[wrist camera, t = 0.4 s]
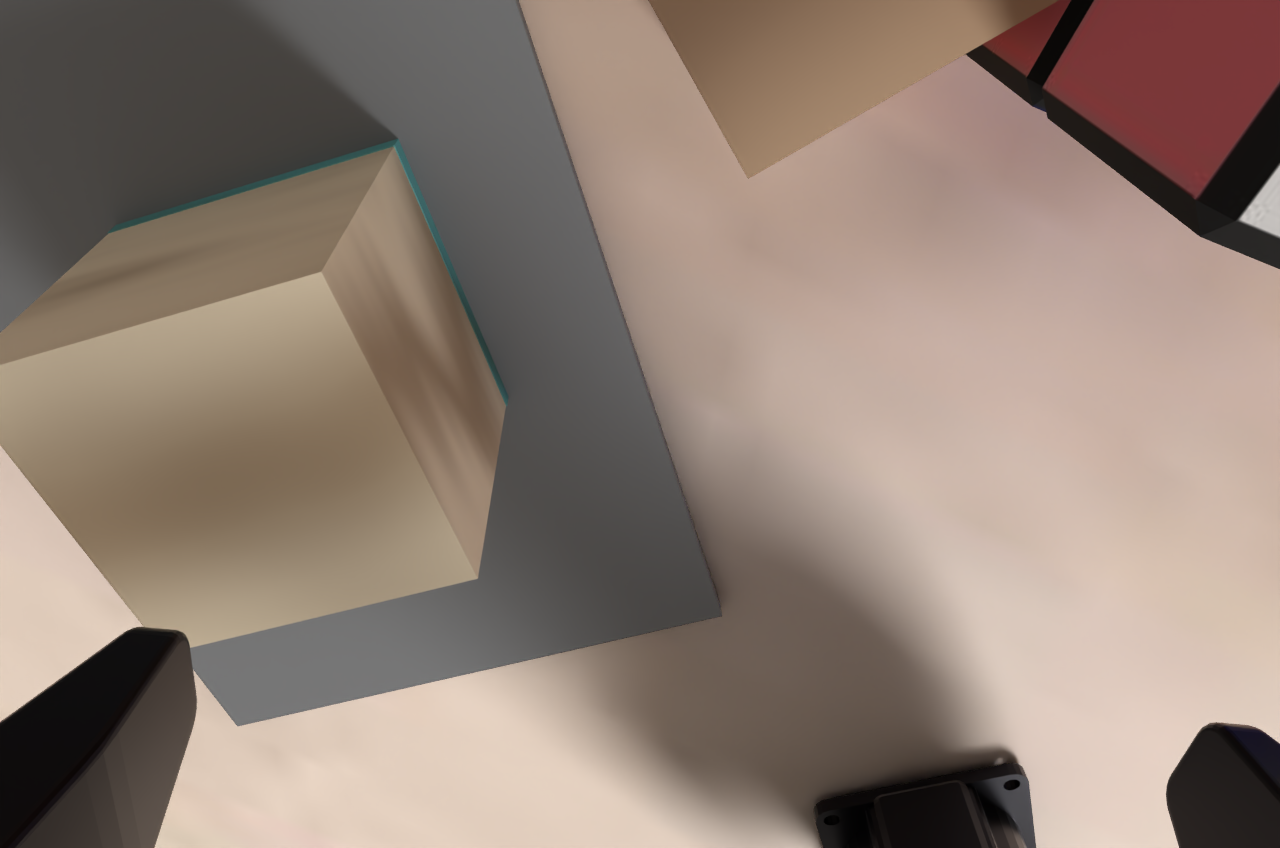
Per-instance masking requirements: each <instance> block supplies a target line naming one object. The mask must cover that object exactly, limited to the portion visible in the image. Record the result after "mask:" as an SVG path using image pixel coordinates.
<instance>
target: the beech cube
mask: <svg viewBox="0 0 1280 848" xmlns="http://www.w3.org/2000/svg"><path fill="white" fill-rule="evenodd" d="M508 398H509V396H508V394H507V392H506V389H505V387H504V385H503V382H502V380H501V378H500V375H499V373H498V370H497V368H496V366H495V363H494V361H493V359H492V356H491V354H490V352H489V349H488V347H487V345H486V342H485V340H484V338H483V335H482V333H481V331H480V328H479V326H478V324H477V321H476V319H475V317H474V314H473V312H472V310H471V307H470V305H469V303H468V300H467V298H466V296H465V293H464V291H463V289H462V286H461V284H460V282H459V279H458V277H457V275H456V272H455V270H454V268H453V265H452V263H451V261H450V258H449V256H448V254H447V251H446V249H445V247H444V244H443V242H442V240H441V237H440V235H439V233H438V230H437V228H436V226H435V223H434V221H433V219H432V216H431V214H430V212H429V209H428V207H427V205H426V202H425V200H424V198H423V195H422V193H421V191H420V188H419V186H418V184H417V181H416V179H415V177H414V174H413V172H412V170H411V167H410V165H409V162H408V160H407V158H406V155H405V153H404V151H403V148H402V146H401V144H400V141H399V139H395V140H392V141H389V142H385V143H382V144H379V145H376V146H372V147H369V148H366V149H362V150H359V151H356V152H353V153H349V154H346V155H343V156H340V157H336V158H333V159H330V160H327V161H323V162H320V163H317V164H313V165H310V166H307V167H304V168H300V169H297V170H294V171H291V172H287V173H284V174H281V175H278V176H274V177H271V178H268V179H264V180H261V181H258V182H255V183H251V184H248V185H245V186H242V187H238V188H235V189H232V190H229V191H225V192H222V193H219V194H215V195H212V196H209V197H206V198H202V199H199V200H196V201H193V202H189V203H186V204H183V205H179V206H176V207H173V208H170V209H166V210H163V211H160V212H157V213H153V214H150V215H147V216H144V217H140V218H137V219H134V220H130V221H127V222H124V223H121V224H117V225H115V226H114V227H113V228H112V229H111V230H110V231H109V232H108V235H107V236H105V237H104V238H103V239H102V240H101V241H100V242H99V243H98V244H97V245H96V246H94V247H93V248H92V249H91V250H90V251H89V252H88V253H87V254H86V255H85V256H84V257H82V258H81V259H80V260H79V261H78V262H77V263H76V264H75V265H74V266H73V267H72V268H70V269H69V270H68V271H67V272H66V273H65V274H64V275H63V276H62V277H61V278H60V279H58V280H57V281H56V282H55V283H54V284H53V285H52V286H51V287H50V288H49V289H48V290H46V291H45V292H44V293H43V294H42V295H41V296H40V297H39V298H38V299H37V300H36V301H34V302H33V303H32V304H31V305H30V306H29V307H28V308H27V309H26V310H25V311H24V312H22V313H21V314H20V315H19V316H18V317H17V318H16V319H15V320H14V321H13V322H12V323H10V324H9V325H8V326H7V327H6V328H5V329H4V330H3V331H2V332H1V333H0V445H1V447H2V448H3V449H4V450H5V452H6V453H7V454H8V455H9V457H10V458H11V459H12V460H13V462H14V463H15V464H16V466H17V467H18V468H19V469H20V471H21V472H22V473H23V474H24V476H25V477H26V478H27V479H28V481H29V482H30V483H31V485H32V486H33V487H34V488H35V490H36V491H37V492H38V493H39V495H40V496H41V497H42V498H43V500H44V501H45V502H46V504H47V505H48V506H49V507H50V509H51V510H52V511H53V512H54V514H55V515H56V516H57V517H58V519H59V520H60V521H61V523H62V524H63V525H64V526H65V528H66V529H67V530H68V531H69V533H70V534H71V535H72V536H73V538H74V539H75V540H76V542H77V543H78V544H79V545H80V547H81V548H82V549H83V550H84V552H85V553H86V554H87V555H88V557H89V558H90V559H91V561H92V562H93V563H94V564H95V566H96V567H97V568H98V569H99V571H100V572H101V573H102V574H103V576H104V577H105V578H106V580H107V581H108V582H109V583H110V585H111V586H112V587H113V588H114V590H115V591H116V592H117V593H118V595H119V596H120V597H121V599H122V600H123V601H124V602H125V604H126V605H127V606H128V607H129V609H130V610H131V611H132V612H133V614H134V615H135V616H136V618H137V619H138V620H139V621H140V623H141V624H142V625H143V626H144V627H148V628H159V629H171V630H178V631H181V632H183V633H184V634H185V635H186V637H187V638H188V641H189V645H190V648H192V647H196V646H200V645H204V644H209V643H213V642H217V641H221V640H225V639H229V638H234V637H238V636H242V635H246V634H250V633H254V632H258V631H263V630H267V629H271V628H275V627H279V626H283V625H288V624H292V623H296V622H300V621H304V620H308V619H313V618H317V617H321V616H325V615H329V614H333V613H337V612H342V611H346V610H350V609H354V608H358V607H362V606H367V605H371V604H375V603H379V602H383V601H387V600H392V599H396V598H400V597H404V596H408V595H412V594H416V593H421V592H425V591H429V590H433V589H437V588H441V587H446V586H450V585H454V584H458V583H462V582H466V581H470V580H475V579H478V574H479V568H480V562H481V556H482V550H483V544H484V538H485V531H486V525H487V519H488V513H489V507H490V501H491V495H492V488H493V482H494V476H495V470H496V464H497V458H498V452H499V445H500V439H501V433H502V427H503V421H504V415H505V409H506V406H507V404H508Z"/></svg>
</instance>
